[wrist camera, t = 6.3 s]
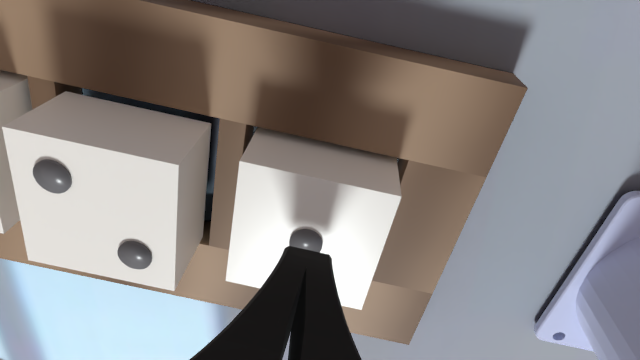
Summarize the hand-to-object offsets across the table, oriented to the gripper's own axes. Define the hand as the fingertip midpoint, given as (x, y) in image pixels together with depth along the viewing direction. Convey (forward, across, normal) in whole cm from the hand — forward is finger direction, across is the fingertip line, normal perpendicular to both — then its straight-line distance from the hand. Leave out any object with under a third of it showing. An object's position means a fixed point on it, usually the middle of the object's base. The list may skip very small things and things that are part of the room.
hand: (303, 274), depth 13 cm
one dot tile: (+5, 0, 0) cm, 5 cm away
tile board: (+5, +7, 0) cm, 8 cm away
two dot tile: (+4, +7, 0) cm, 7 cm away
